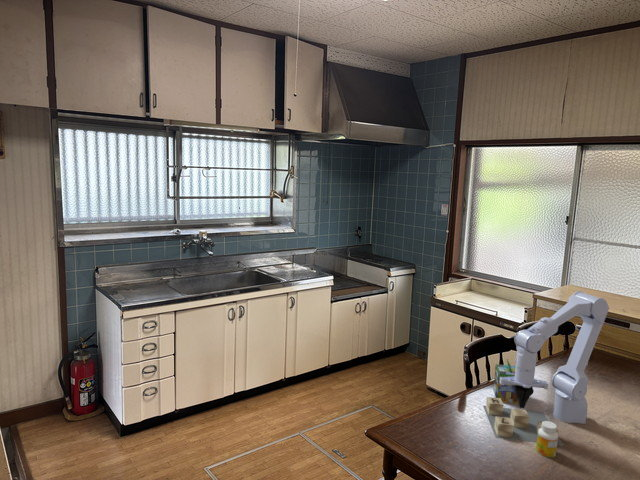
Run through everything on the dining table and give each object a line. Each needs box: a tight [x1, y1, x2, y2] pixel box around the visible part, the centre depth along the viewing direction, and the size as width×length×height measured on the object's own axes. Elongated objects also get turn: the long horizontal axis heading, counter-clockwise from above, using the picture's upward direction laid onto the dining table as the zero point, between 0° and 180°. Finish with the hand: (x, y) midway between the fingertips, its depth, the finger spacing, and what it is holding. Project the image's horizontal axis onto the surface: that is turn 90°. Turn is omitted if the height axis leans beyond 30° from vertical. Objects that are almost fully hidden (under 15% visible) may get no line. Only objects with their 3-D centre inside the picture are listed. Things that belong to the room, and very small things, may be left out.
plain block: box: [510, 408, 529, 428], centre depth 152 cm, size 4×4×4 cm
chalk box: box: [492, 358, 518, 405], centre depth 170 cm, size 9×9×15 cm
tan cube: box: [537, 421, 559, 435], centre depth 145 cm, size 4×4×4 cm
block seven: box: [494, 416, 514, 437], centre depth 147 cm, size 4×4×4 cm
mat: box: [482, 405, 565, 447], centre depth 152 cm, size 20×20×1 cm
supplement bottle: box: [535, 420, 559, 458], centre depth 137 cm, size 5×5×10 cm
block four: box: [485, 396, 505, 416], centre depth 159 cm, size 4×4×4 cm
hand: (521, 406), depth 152 cm, fingers closed
